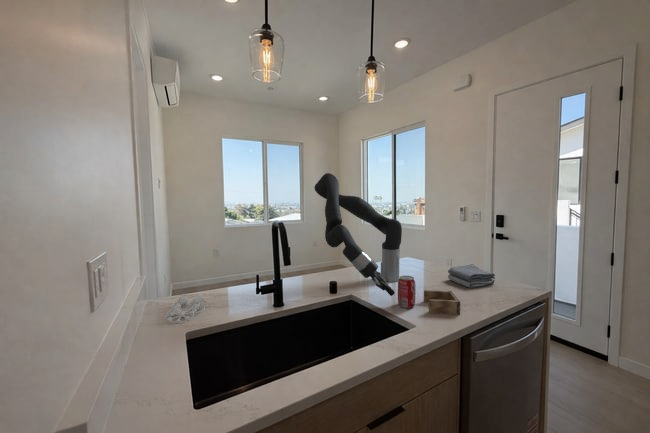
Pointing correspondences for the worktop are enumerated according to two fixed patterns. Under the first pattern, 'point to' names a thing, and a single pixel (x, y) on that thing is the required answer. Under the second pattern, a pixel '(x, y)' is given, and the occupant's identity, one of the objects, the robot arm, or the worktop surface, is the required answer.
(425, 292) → the wooden tray
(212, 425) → the worktop surface
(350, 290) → the worktop surface
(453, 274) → the towel
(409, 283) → the soda can
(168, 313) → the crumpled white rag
